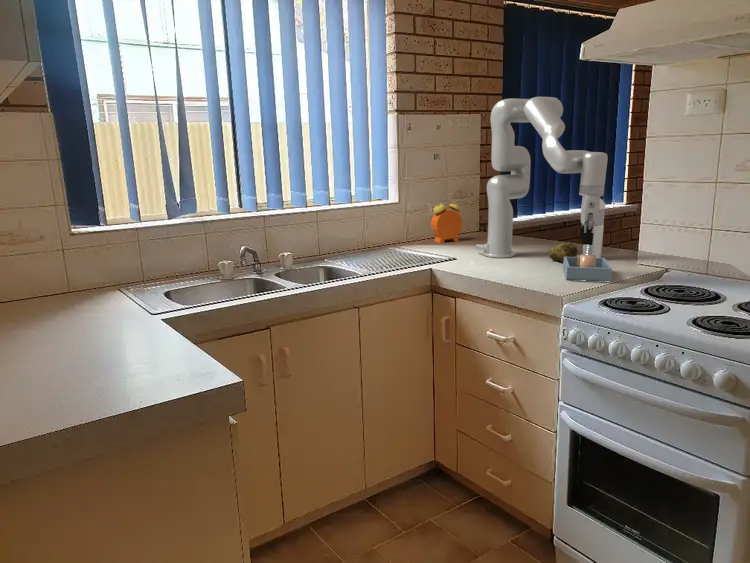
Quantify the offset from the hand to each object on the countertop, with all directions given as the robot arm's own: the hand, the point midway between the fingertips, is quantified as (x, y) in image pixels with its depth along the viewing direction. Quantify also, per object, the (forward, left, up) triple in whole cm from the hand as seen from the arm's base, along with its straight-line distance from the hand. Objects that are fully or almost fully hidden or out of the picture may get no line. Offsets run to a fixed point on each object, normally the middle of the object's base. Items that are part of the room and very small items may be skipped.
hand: (585, 241), depth 193 cm
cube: (+1, +3, -11) cm, 11 cm away
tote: (+1, -1, -11) cm, 11 cm away
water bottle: (+6, +29, -12) cm, 32 cm away
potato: (-6, +19, -12) cm, 23 cm away
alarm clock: (-54, +58, -12) cm, 81 cm away
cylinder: (+1, -5, -11) cm, 12 cm away
